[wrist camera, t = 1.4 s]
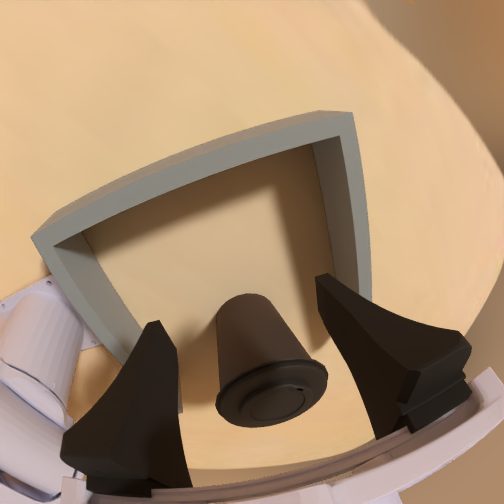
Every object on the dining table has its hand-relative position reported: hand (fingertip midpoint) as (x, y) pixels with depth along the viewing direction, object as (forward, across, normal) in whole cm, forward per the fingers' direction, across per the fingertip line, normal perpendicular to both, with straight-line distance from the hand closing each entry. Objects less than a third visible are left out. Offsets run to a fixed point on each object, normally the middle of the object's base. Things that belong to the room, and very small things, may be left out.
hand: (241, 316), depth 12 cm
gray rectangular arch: (+10, +1, +5) cm, 11 cm away
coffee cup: (+10, 0, +9) cm, 13 cm away
